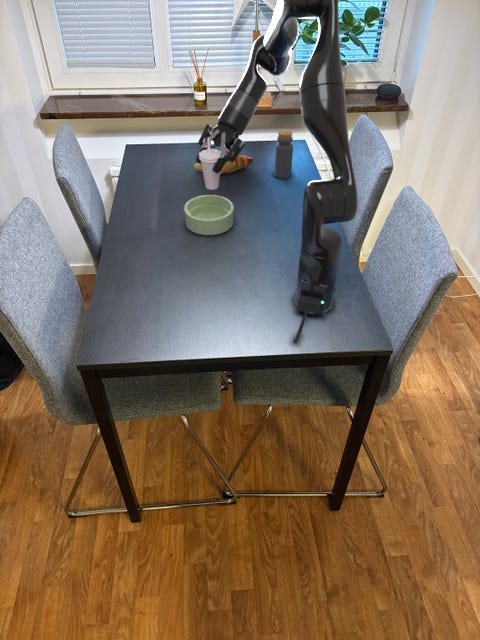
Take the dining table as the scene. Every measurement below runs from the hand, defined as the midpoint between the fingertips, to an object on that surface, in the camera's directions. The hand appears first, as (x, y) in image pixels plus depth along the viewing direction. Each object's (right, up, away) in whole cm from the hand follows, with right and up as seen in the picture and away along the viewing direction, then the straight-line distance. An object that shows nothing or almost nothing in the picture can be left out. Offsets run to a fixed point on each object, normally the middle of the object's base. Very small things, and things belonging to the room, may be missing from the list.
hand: (206, 167), depth 138 cm
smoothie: (+1, -4, +5) cm, 7 cm away
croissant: (+3, +12, +42) cm, 43 cm away
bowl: (0, -12, +16) cm, 20 cm away
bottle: (+24, +9, +39) cm, 46 cm away
